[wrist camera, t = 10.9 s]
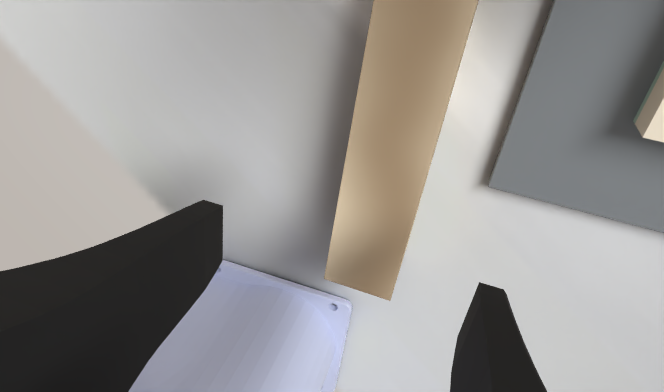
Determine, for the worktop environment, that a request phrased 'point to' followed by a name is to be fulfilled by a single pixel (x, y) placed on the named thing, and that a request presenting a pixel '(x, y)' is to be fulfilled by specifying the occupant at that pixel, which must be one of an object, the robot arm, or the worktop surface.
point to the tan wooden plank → (394, 135)
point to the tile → (652, 110)
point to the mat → (589, 114)
